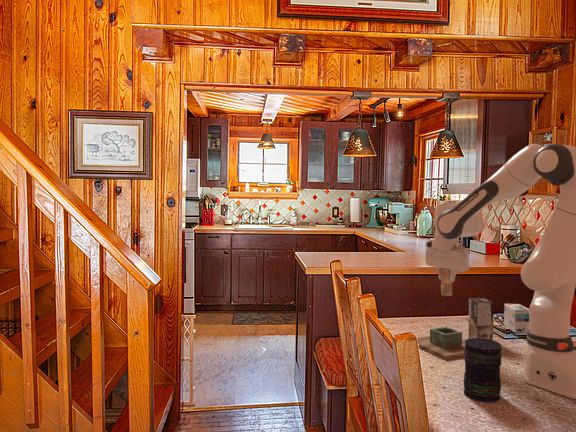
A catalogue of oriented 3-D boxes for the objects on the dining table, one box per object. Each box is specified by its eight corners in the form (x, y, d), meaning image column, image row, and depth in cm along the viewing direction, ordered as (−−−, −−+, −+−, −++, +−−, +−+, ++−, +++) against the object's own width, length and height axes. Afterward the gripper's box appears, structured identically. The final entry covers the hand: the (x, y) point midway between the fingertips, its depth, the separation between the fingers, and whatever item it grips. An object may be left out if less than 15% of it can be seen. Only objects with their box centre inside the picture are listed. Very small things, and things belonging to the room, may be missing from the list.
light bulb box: (531, 336, 191) (532, 309, 190) (514, 336, 191) (515, 309, 190) (519, 328, 202) (519, 303, 201) (503, 328, 202) (503, 303, 201)
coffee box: (493, 345, 180) (494, 302, 179) (476, 345, 180) (477, 302, 179) (484, 337, 189) (485, 297, 188) (467, 337, 189) (468, 297, 188)
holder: (484, 353, 171) (485, 335, 170) (445, 360, 164) (445, 341, 163) (445, 337, 189) (446, 321, 189) (408, 343, 182) (409, 326, 182)
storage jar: (470, 385, 143) (471, 335, 142) (504, 393, 137) (506, 342, 136) (458, 396, 135) (459, 344, 134) (494, 406, 129) (495, 351, 128)
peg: (454, 295, 180) (454, 269, 180) (446, 296, 179) (446, 269, 178) (447, 293, 184) (447, 267, 183) (438, 294, 182) (438, 268, 182)
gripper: (473, 245, 172) (473, 284, 173) (435, 241, 191) (435, 276, 191) (459, 246, 170) (459, 285, 170) (422, 242, 189) (422, 277, 189)
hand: (446, 280), depth 181 cm, fingers closed on peg, 4 cm apart
